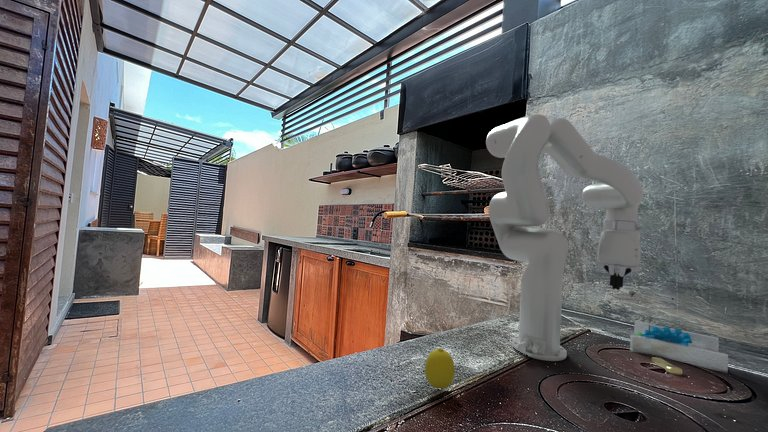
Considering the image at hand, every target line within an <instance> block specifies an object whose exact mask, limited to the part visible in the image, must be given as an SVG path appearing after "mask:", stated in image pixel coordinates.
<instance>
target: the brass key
mask: <svg viewBox="0 0 768 432" xmlns="http://www.w3.org/2000/svg"><path fill="white" fill-rule="evenodd" d="M651 362H652V363H654V364H656V365H658V366H659V367H661V368H663V369H664V370H665V371H666V372H667V373H670V374H672V375H676V376H683V369H682V368H681V367H679V366H675V365H673V364H671V363H670V362H669V361H667V360H664V359H663V358H662V357H659V356H656V357H654V356H651Z"/></svg>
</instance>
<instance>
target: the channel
mask: <svg viewBox="0 0 768 432" xmlns="http://www.w3.org/2000/svg"><path fill="white" fill-rule="evenodd" d="M633 327H634V329H633V333H634V334H630V340H629V341H630V342H629V351H631V352H632V353H638V354H639V353H640V354H647V355H653V356H656V357H659V358H665V359H668V360H672V361H677V362H681V363H686V364H689V365H692V366H697V367H700V368H705V369H708V370H712V371H717V372H721V373H725V374H729V373H728V372H729V371H728V370H729V354H727V353H722V352H719V351H720V349H719V347H720V346H719V345H720V339H719V337H716V336H712V335H711V336H710V335H707V334H702V333H698V332H697V333H696V332H690V331H688V330H687V331H685V330H682V329H680V330H681V331H682V334H681V335H683V333H687V334H689V335H690V337H691V340H692V343H688V345H689V346H687V345H682V344H678V343H673V342H669V341H664V340H660V339H655V338H650V337H649V338H648V337H643V336H637V333H641V334H645V330H649V331H652V328H654V327H657V328H658V329H659V330H661V331H664V330H663V327H664V326H660V325H657V324H652V323H648V322H644V321H641V320H637V319H636V320H634V326H633ZM669 328H670V327H669ZM675 329H676V328H670V332H672V333H675ZM681 335H680V336H681Z"/></svg>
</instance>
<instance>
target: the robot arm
mask: <svg viewBox="0 0 768 432" xmlns="http://www.w3.org/2000/svg"><path fill="white" fill-rule="evenodd" d="M485 145H486V149H487V150H488V152H489V153H490V155H492V156H494V157H495V158H501V159H503V158H504V160H503V163H502V166H501V167H502V168H501V180H502V184H503V188H504V191H502V192H498V193H496V194H495V195H494V196H493V197H492V198H491V200H490V201H489V205H488V217H489V221H490V223H491V226H492V229H493V232H494V236H495V238H496V240H497V243H498V246H499V249H500V250H501V252H502V254H503V255H504V256H505V257H506V258H507V259H510V260H513V261H517V262H522V263H527V266H526V268H525V270H524V271H523V274H522V276H521V279H520V295H519V296H520V297H519V298H520V300H519V318H518V319H519V320H518V321H519V322H518V325H519V326H518V337H515V338H513V339H512V340H511V347H512V348H513V347H514V348H515V349H516V350H518V351H520V352H522V353H525V354H527V355H528V356H527V357H528V358H532V359H536V360H540V361H546V362H559V361H563V360H565V359H566V358H567V356H568V354H567V353H568V352H567V350H566V349H565V348H564V347H562V346H561V330H562V328H561V323H562V322H561V320H562V304H563V303H562V301H563V300H562V299H563V297H562V296H563V280H564V279H563V277H564V276H563V275H564V269H565V266H566V261H567V258H568V254H569V243H568V239H567V238H566V236H565V235H564V234H563V233H562V232H560V231H558V230H556V229H552V228H545V227H539V226H543V225H544V224H546V223H547V222H548V221H549V219H550V215H551V209H550V206H549V202H548V197H547V195H546V192H545V189H544V186H543V183H542V182H543V181H542V179H541V175H540V171H539V161H540V157H541V155H543V154H547V155H549V156H550V157H551V159H552V160H553V161H554V162H555V163H556V164H557V165H558V167H559V168H560V169H561V170H562V171H563V173H565V174H566V175H567V176H570V177H572V178H578V179H581V180H582V179H583V180H588V181H594V182H597V183H591V184H590V185H587V186H586V187H584V189H583V190H582V193H581V200H582V202H583V203H584V204H585V205H586V206H587V207H589V208H592V209H606V210H605V220H604V221H605V222H604V230H602V231H601V234H600V237H599V242H598V247H597V255H596V257H597V261H596V262H595V266H596V267H598V268H601V269H604V270H605V271H606V272H607V273H608V274H609V275H610V279H609V286H610V287H612V290H617V291H620V290H621V288H623V287H624V277H625V276H626V275H628V274H630V273H640V272H641V271H642V269H641V268H642V267H641V261H642V241H641V239H642V238H641V234H640V233H638V232H637V231H640V230H644V225H643V224H639V223H638V215H639V205H640V204H641V203H642V202H643V200H644V194H645V193H644V189H643V186H642V184H641V182H640V180H639V179H638V178H637V176H636V175H635V173H634V172H633V171H632V170H631V169H630V168H629V167H628V166H626V165H625V164H623V163H622V162H619V161H617V160H614V159H612V158H609V157H607V156H605V155H602V154H599V153H596V152H595V151H594V150H593V149H592V148H591V146H590V145H589V143H588V142H587V141H586V140H585V138H583V136H582V135H581V134H580V132H579V131H578V130H577V129H576V127H575V126H574V124H572V122H571V121H570V120H568V119H566V118H562V117H557V118H551V119H548V117H546V116H545V115H544V114H541V113H540V114H539V113H537V114H536V113H535V114H530V115H529V114H528V115H526V116H523V117H520V118H517V119H514V120H512V121H509V122H507V123H505V124H501V125H499V126H498V125H497V126H495V127H494V128H493V129H491V131H489V132H488V134H487V136H486V140H485ZM615 266H620V270H619V273H618V274H617V273H616V267H615ZM514 348H513V349H514ZM515 349H514V350H515ZM516 350H515V351H516ZM518 351H517V352H518ZM520 352H519V353H520Z"/></svg>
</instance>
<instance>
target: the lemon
mask: <svg viewBox="0 0 768 432" xmlns="http://www.w3.org/2000/svg"><path fill="white" fill-rule="evenodd" d="M424 366H425V367H424V370H425V371H424V372H425V376H426V380H427V382H428V383H429V384H430V385H431V387H433V388H435V387H436V388H441V389H442V390H443V389H444V388H445V389H447V388H448V387H450V385H452V383H453V381H454V379H455V374H456V371H455V370H456V369H455V363H454V359H453V357H452V356H451V354H450V353H449V352H447V350H445V349H444V348H441V347H438V348H437V349H434V350H432V351H430V353H429V354H428V355H427V358H426V361H425V365H424ZM436 388H435V389H436Z"/></svg>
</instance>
